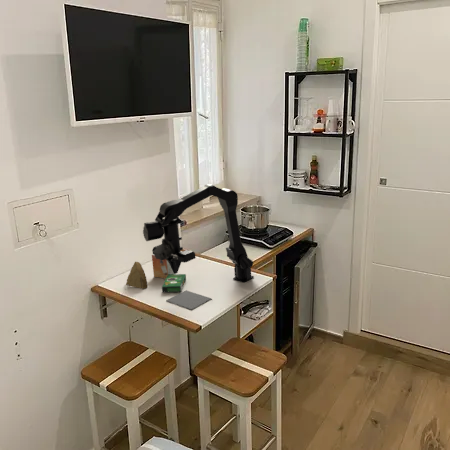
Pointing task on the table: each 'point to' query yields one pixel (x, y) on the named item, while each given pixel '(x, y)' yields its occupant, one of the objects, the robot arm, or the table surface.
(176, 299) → the mat
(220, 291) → the table surface
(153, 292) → the table surface
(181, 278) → the coffee box
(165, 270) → the small box
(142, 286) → the rock
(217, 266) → the table surface
